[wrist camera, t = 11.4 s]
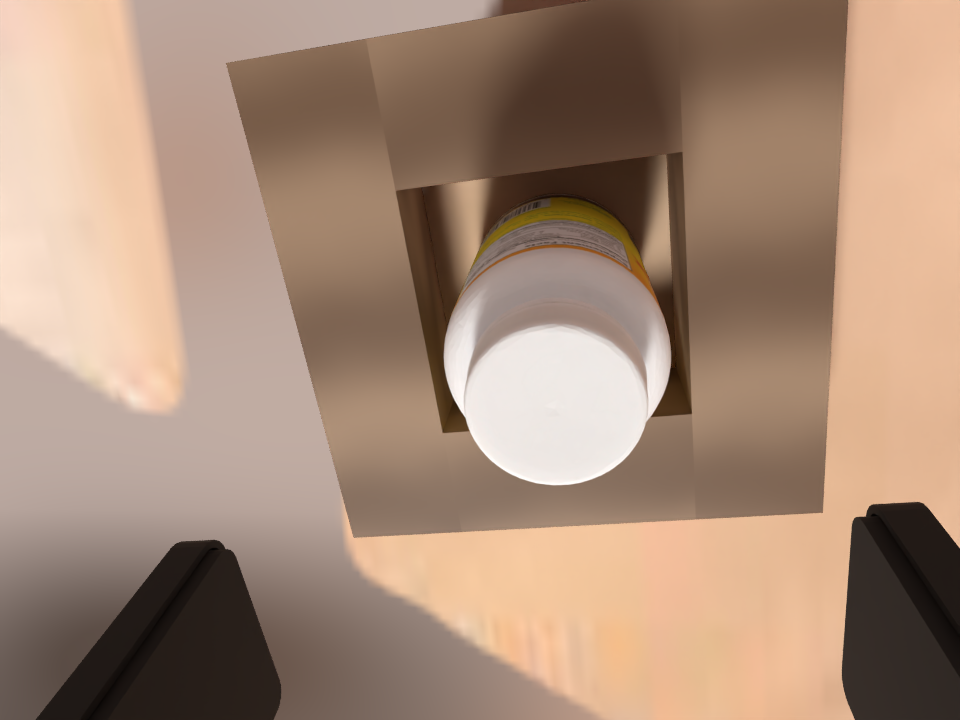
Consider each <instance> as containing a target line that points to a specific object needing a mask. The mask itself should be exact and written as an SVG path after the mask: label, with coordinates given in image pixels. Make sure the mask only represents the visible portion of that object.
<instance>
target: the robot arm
mask: <svg viewBox="0 0 960 720" xmlns="http://www.w3.org/2000/svg"><path fill="white" fill-rule="evenodd" d="M842 681H843V687H844V692H845V695H846V699H847V701H848V704H849V707H850V709H851V711H852V714H853V716H854V718H855V720H960V548H959V547H958V546H957V544H956V543H955V542H954V541H953V539H952V538H951V537H950V535H949V534H948V533H947V532H946V530H945V529H944V528H943V527H942V525H941V524H940V523H939V521H938V520H937V519H936V518H935V516H934V515H933V514H932V512H931V511H930V510H929V509H928V508H927V507H926V506H925V505H924V504H923V503H920V502H910V503H891V504H873V505H871V506H869V508H868V510H867V514H866V517H856V518H854V520H853V524H852V533H851V547H850V561H849V576H848V590H847V604H846V618H845V632H844V647H843V661H842ZM280 699H281V684H280V680H279V677H278V674H277V672H276V669H275V666H274V663H273V660H272V657H271V655H270V652H269V649H268V646H267V643H266V640H265V638H264V635H263V632H262V629H261V627H260V623H259V621H258V618H257V615H256V612H255V609H254V607H253V604H252V601H251V598H250V595H249V592H248V590H247V587H246V584H245V581H244V578H243V576H242V573H241V570H240V567H239V564H238V561H237V559H236V556H235V555H234V553H233V552H232V551H231V550H228V549H225V547H224V545H223V544H222V543H221V542H220V541H217V540H205V541H185V542H179V543H176V544H175V545H174V546H173V547H172V548H171V549H170V550H169V551H168V553H167V554H166V555H165V557H164V558H163V559H162V560H161V562H160V563H159V564H158V565H157V567H156V568H155V569H154V570H153V572H152V573H151V574H150V575H149V577H148V578H147V579H146V581H145V582H144V583H143V584H142V586H141V587H140V588H139V589H138V591H137V592H136V593H135V594H134V596H133V597H132V598H131V600H130V601H129V602H128V603H127V605H126V606H125V607H124V608H123V610H122V611H121V612H120V614H119V615H118V616H117V617H116V619H115V620H114V621H113V622H112V624H111V625H110V626H109V627H108V629H107V630H106V631H105V633H104V634H103V635H102V636H101V638H100V639H99V640H98V641H97V643H96V644H95V645H94V646H93V648H92V649H91V650H90V652H89V653H88V654H87V655H86V657H85V658H84V659H83V660H82V662H81V663H80V664H79V665H78V667H77V668H76V670H75V671H74V672H73V673H72V674H71V676H70V677H69V678H68V680H67V681H66V682H65V683H64V685H63V686H62V687H61V689H60V690H59V691H58V692H57V693H56V695H55V696H54V697H53V698H52V700H51V701H50V702H49V704H48V705H47V706H46V707H45V709H44V710H43V711H42V712H41V714H40V715H39V716H38V717H37V719H36V720H274V717H275V715H276V713H277V710H278V708H279V704H280Z"/></svg>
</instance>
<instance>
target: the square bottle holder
mask: <svg viewBox="0 0 960 720" xmlns="http://www.w3.org/2000/svg"><path fill="white" fill-rule="evenodd" d="M847 13H848V0H588V1H582V2H576V3H571V4H565V5H559V6H553V7H547V8H542V9H536V10H530V11H524V12H519V13H513V14H507V15H501V16H495V17H490V18H484V19H478V20H472V21H467V22H461V23H455V24H450V25H444V26H438V27H432V28H427V29H420V30H415V31H409V32H403V33H397V34H392V35H386V36H380V37H374V38H368V39H363V40H357V41H351V42H345V43H340V44H334V45H328V46H322V47H316V48H311V49H305V50H299V51H293V52H288V53H282V54H276V55H271V56H265V57H259V58H253V59H247V60H241V61H235V62H230V63H226V65H227V68H228V72H229V76H230V79H231V83H232V87H233V91H234V94H235V98H236V101H237V105H238V109H239V113H240V117H241V120H242V124H243V127H244V131H245V135H246V139H247V142H248V146H249V150H250V154H251V157H252V161H253V165H254V168H255V172H256V176H257V180H258V183H259V187H260V191H261V195H262V198H263V202H264V206H265V210H266V213H267V217H268V221H269V224H270V228H271V232H272V235H273V239H274V243H275V247H276V250H277V254H278V258H279V262H280V265H281V269H282V272H283V277H284V280H285V283H286V288H287V291H288V295H289V299H290V303H291V306H292V310H293V314H294V317H295V321H296V325H297V328H298V332H299V336H300V339H301V343H302V347H303V351H304V355H305V358H306V362H307V366H308V370H309V373H310V377H311V381H312V384H313V388H314V392H315V396H316V399H317V403H318V407H319V410H320V414H321V418H322V421H323V425H324V429H325V433H326V436H327V440H328V444H329V448H330V451H331V455H332V459H333V462H334V466H335V470H336V473H337V477H338V481H339V485H340V489H341V492H342V496H343V500H344V503H345V507H346V511H347V515H348V518H349V522H350V526H351V529H352V533H353V537H354V538H357V537H375V536H394V535H413V534H432V533H450V532H469V531H488V530H506V529H525V528H544V527H562V526H581V525H600V524H619V523H637V522H656V521H675V520H693V519H712V518H731V517H750V516H768V515H787V514H806V513H823V497H824V477H825V457H826V436H827V416H828V396H829V376H830V356H831V336H832V315H833V295H834V275H835V255H836V235H837V215H838V194H839V174H840V154H841V134H842V114H843V93H844V73H845V53H846V33H847ZM662 154H667V174H668V197H669V220H670V242H671V265H672V287H673V310H674V332H675V355H676V368H670V373H669V378H668V383H667V386H666V389H665V392H664V394H663V396H662V398H661V400H660V402H659V404H658V406H657V408H656V409H655V411H654V412H653V414H652V415H651V417H650V418H649V419H648V420H647V422H646V424H645V428H644V430H643V433H642V435H641V437H640V439H639V441H638V443H637V444H636V446H635V447H634V449H633V450H632V451H631V453H630V454H629V455H628V456H627V457H626V458H625V459H624V460H623V461H622V462H621V463H620V464H618V465H617V466H616V467H614V468H613V469H611V470H610V471H608V472H606V473H605V474H603V475H601V476H598V477H596V478H593V479H591V480H588V481H584V482H581V483H576V484H569V485H546V484H539V483H534V482H530V481H527V480H524V479H520V478H518V477H516V476H514V475H512V474H510V473H508V472H506V471H505V470H503V469H501V468H500V467H499V466H497V465H496V464H495V463H493V462H492V461H491V460H490V459H489V458H488V457H487V456H486V455H485V454H484V453H483V452H482V450H481V449H480V448H479V446H478V445H477V443H476V442H475V440H474V439H473V437H472V435H471V433H470V430H469V427H468V425H467V421H466V418H465V416H464V415H463V413H462V412H461V410H460V409H459V407H458V405H457V403H456V402H455V400H454V398H453V396H452V393H451V391H450V388H449V385H448V382H447V378H446V373H445V368H444V344H445V337H446V332H447V326H446V320H445V315H444V309H443V304H442V298H441V292H440V287H439V281H438V276H437V270H436V265H435V259H434V254H433V248H432V242H431V237H430V231H429V226H428V220H427V215H426V209H425V203H424V198H423V192H422V187H426V186H434V185H441V184H448V183H456V182H463V181H470V180H478V179H485V178H493V177H500V176H507V175H515V174H522V173H529V172H537V171H544V170H552V169H559V168H566V167H574V166H581V165H588V164H596V163H603V162H611V161H618V160H625V159H633V158H640V157H647V156H655V155H662Z"/></svg>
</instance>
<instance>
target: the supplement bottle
mask: <svg viewBox="0 0 960 720" xmlns="http://www.w3.org/2000/svg"><path fill="white" fill-rule="evenodd" d="M670 367H671V345H670V338H669V334H668V330H667V326H666V322H665V319H664V316H663V314H662V311H661V309H660V306H659V303H658V300H657V298H656V296H655V293H654V291H653V288H652V286H651V283H650V280H649V276H648V275H647V272H646V270H645V268H644V265H643V263H642V260H641V257H640V255H639V252H638V249H637V247H636V245H635V242H634V240H633V238H632V236H631V234H630V233H629V231H628V230H627V228H626V227H625V226H624V224H623V223H622V222H621V221H620V220H619V219H618V218H617V217H616V216H615V215H614V214H613V213H612V212H610V211H609V210H608V209H606V208H605V207H603V206H602V205H600V204H598V203H596V202H594V201H592V200H589V199H586V198H584V197H579V196H575V195H568V194H550V195H543V196H539V197H535V198H532V199H529V200H526V201H524V202H522V203H520V204H518V205H516V206H515V207H513V208H511V209H510V210H509V211H507V212H506V213H505V214H504V215H503V216H501V217H500V218H499V219H498V220H497V222H496V223H495V224H494V225H493V226H492V228H491V229H490V230H489V232H488V233H487V235H486V237H485V238H484V240H483V242H482V244H481V246H480V249H479V251H478V253H477V255H476V258H475V260H474V262H473V265H472V267H471V269H470V272H469V274H468V276H467V279H466V281H465V283H464V285H463V288H462V290H461V293H460V295H459V298H458V300H457V302H456V305H455V307H454V310H453V312H452V314H451V318H450V321H449V325H448V328H447V332H446V337H445V344H444V368H445V373H446V378H447V382H448V385H449V388H450V391H451V393H452V396H453V398H454V400H455V402H456V403H457V405H458V407H459V409H460V410H461V412H462V413H463V415H464V416H465V418H466V421H467V425H468V427H469V430H470V433H471V435H472V437H473V439H474V440H475V442H476V443H477V445H478V446H479V448H480V449H481V450H482V452H483V453H484V454H485V455H486V456H487V457H488V458H489V459H490V460H491V461H492V462H493V463H495V464H496V465H497V466H499V467H500V468H501V469H503V470H505V471H506V472H508V473H510V474H512V475H514V476H516V477H518V478H520V479H524V480H527V481H530V482H534V483H539V484H546V485H569V484H576V483H581V482H584V481H588V480H591V479H593V478H596V477H598V476H601V475H603V474H605V473H606V472H608V471H610V470H611V469H613V468H614V467H616V466H617V465H618V464H620V463H621V462H622V461H623V460H624V459H625V458H626V457H627V456H628V455H629V454H630V453H631V451H632V450H633V449H634V447H635V446H636V444H637V443H638V441H639V439H640V437H641V435H642V433H643V430H644V428H645V424H646V422H647V420H648V419H649V418H650V417H651V415H652V414H653V412H654V411H655V409H656V408H657V406H658V404H659V402H660V400H661V398H662V396H663V394H664V392H665V389H666V386H667V383H668V378H669V373H670Z"/></svg>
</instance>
